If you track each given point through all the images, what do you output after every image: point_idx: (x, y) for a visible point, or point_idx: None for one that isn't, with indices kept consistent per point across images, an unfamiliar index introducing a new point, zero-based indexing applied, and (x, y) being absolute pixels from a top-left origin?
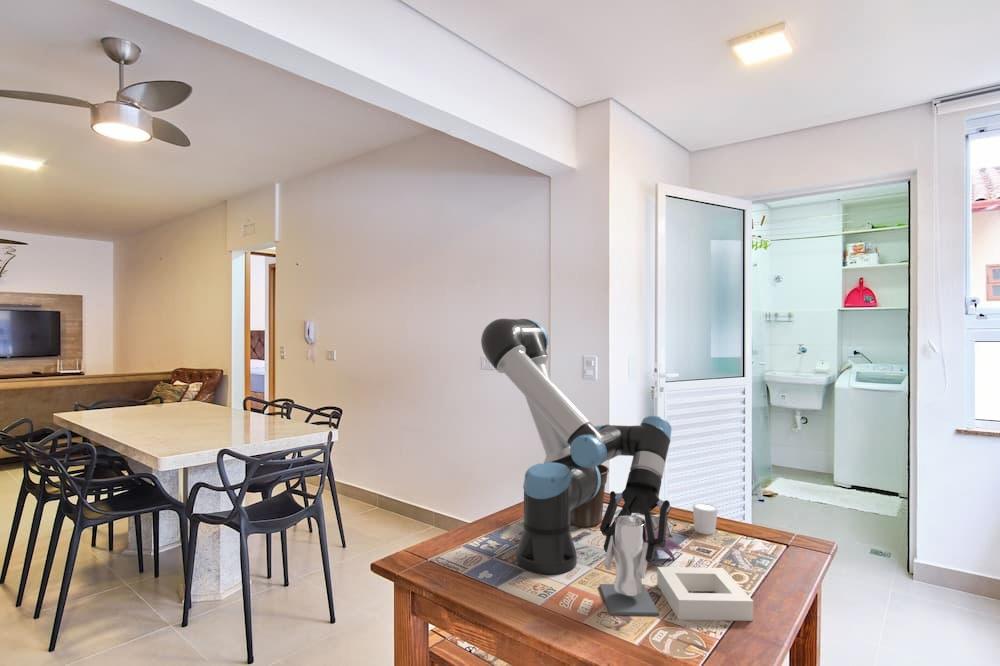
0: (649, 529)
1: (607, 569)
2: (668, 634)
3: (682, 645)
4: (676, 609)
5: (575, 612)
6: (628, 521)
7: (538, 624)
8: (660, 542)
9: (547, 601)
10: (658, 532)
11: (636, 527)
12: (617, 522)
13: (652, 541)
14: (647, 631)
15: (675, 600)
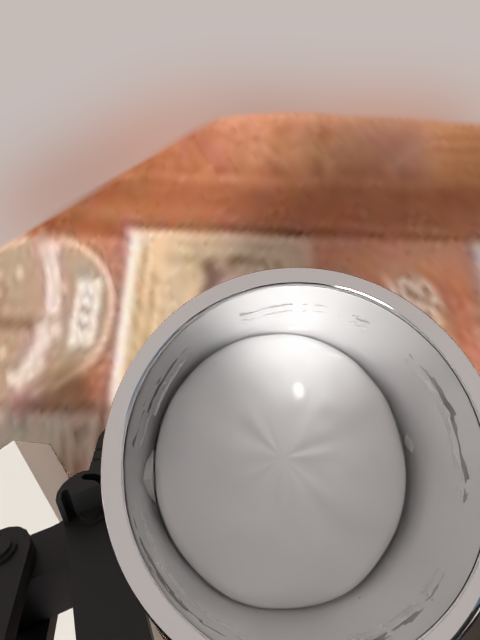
0: (110, 622)
1: None
2: (62, 332)
3: (11, 301)
4: (53, 467)
5: (359, 271)
6: (388, 630)
7: (400, 158)
8: (5, 529)
9: (470, 275)
10: (4, 619)
11: (161, 328)
12: (386, 297)
13: (68, 481)
14: (125, 308)
15: (47, 480)
